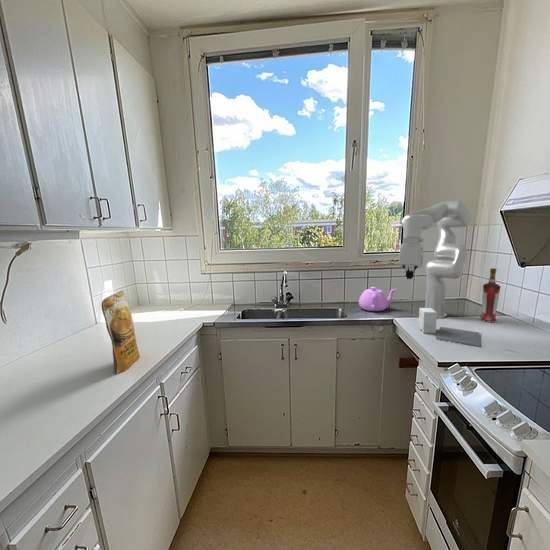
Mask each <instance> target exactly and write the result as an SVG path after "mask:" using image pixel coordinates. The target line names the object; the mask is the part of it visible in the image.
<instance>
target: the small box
mask: <svg viewBox="0 0 550 550" xmlns="http://www.w3.org/2000/svg"><path fill="white" fill-rule="evenodd" d="M418 312H419V313H418V329H419V328H420V329H421V330H422V331H421V330H420V329H419V330H420V331H421V332H422V334H433V333H435V334H436V333H437V332H436V331H437V319H438V318H437V312H435V311H434V310H433V309H432V308H425V307H419V311H418Z"/></svg>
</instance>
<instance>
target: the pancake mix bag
mask: <svg viewBox="0 0 550 550" xmlns="http://www.w3.org/2000/svg"><path fill="white" fill-rule="evenodd" d="M101 311H102V314H103V317H104V321H105V326H106V330H107V334H108V336H109V338H110V341H111V345H112V346H111V347H112V358H113V373H115V374H117V375H118V374H119V373H122V372H126V371H127V370H128V369H129V368H131V367H132V366H133V365H134V363H136V362H137V361H138V360H139V359H140V358H141V355H140V351H139V348H138V343H137V337H136V333H135V326H134V321H133V315H132V312H131V308H130V306H129V303H128V300H127V298H126V295H125V292H124V291H123V290H120V291H118V292H116V293H112V294H111V295H109V296H107V297H105V298H104V299H103V300H102V301H101Z"/></svg>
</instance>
